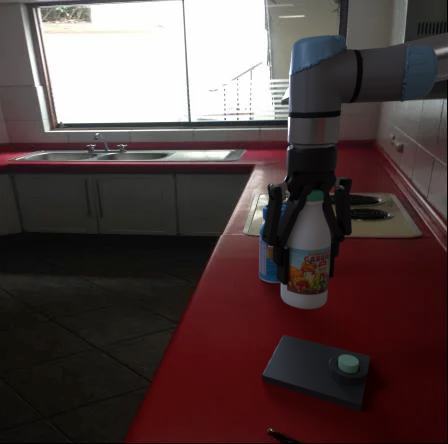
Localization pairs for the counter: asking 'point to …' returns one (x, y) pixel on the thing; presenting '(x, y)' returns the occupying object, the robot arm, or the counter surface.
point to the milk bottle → (308, 257)
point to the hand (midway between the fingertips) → (304, 277)
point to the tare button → (348, 363)
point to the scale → (317, 372)
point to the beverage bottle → (267, 255)
